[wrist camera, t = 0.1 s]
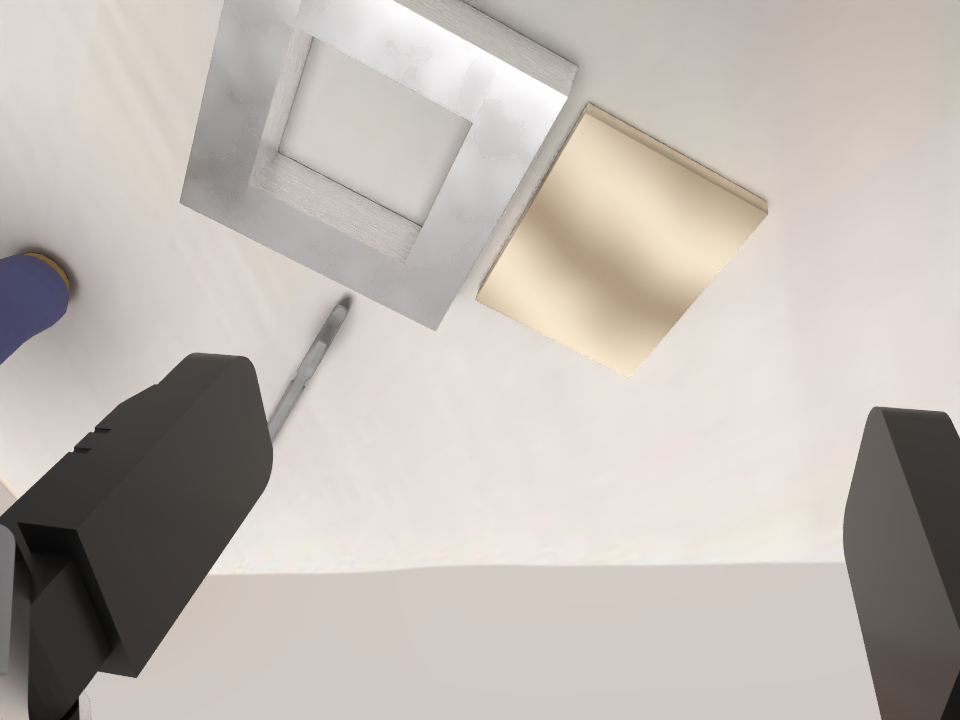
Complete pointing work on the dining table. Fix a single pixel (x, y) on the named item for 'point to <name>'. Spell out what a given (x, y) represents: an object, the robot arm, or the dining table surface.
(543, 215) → the birch pad
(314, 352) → the combination wrench
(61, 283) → the rubber mallet
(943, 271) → the dining table surface
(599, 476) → the dining table surface
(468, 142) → the socket block
